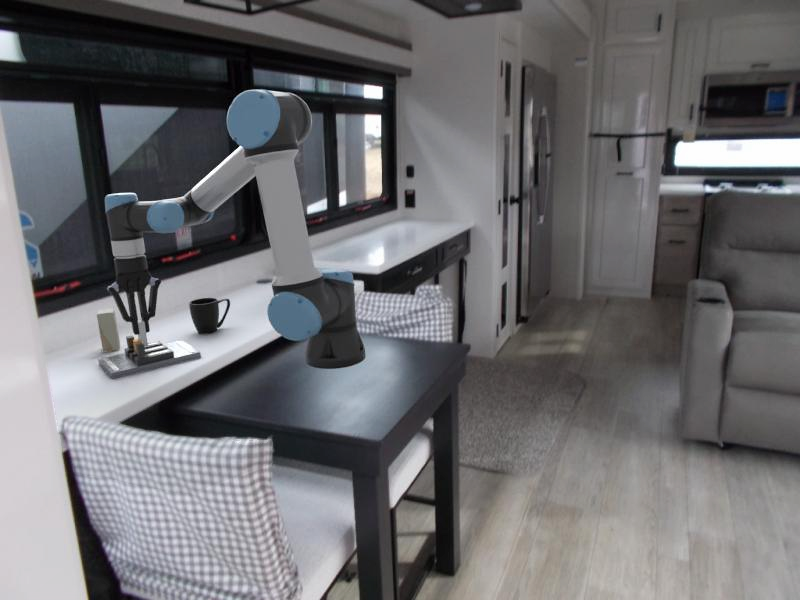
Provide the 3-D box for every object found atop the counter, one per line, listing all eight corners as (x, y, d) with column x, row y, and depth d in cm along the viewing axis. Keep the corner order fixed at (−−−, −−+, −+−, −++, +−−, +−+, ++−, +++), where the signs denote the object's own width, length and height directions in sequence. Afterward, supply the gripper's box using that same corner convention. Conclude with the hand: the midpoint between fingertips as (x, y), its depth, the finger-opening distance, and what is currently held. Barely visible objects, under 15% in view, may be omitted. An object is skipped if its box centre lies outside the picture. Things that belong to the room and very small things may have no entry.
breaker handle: (142, 351, 160) (141, 340, 159) (136, 352, 159) (134, 341, 158) (140, 349, 162) (138, 338, 161) (134, 350, 161) (132, 339, 160)
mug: (237, 329, 188) (234, 298, 185) (198, 337, 181) (193, 306, 179) (227, 323, 194) (224, 294, 192) (189, 331, 188) (185, 301, 185)
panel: (200, 357, 164) (197, 334, 162) (112, 378, 151) (108, 354, 149) (183, 345, 174) (180, 323, 173) (99, 364, 162) (94, 341, 160)
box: (104, 347, 176) (97, 309, 173) (120, 345, 178) (114, 307, 175) (102, 352, 171) (96, 314, 169) (119, 350, 173) (113, 312, 170)
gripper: (151, 250, 162) (164, 336, 168) (98, 257, 154) (113, 347, 160) (160, 253, 156) (173, 342, 162) (105, 261, 148) (120, 354, 154)
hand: (143, 345), depth 161 cm, fingers closed
